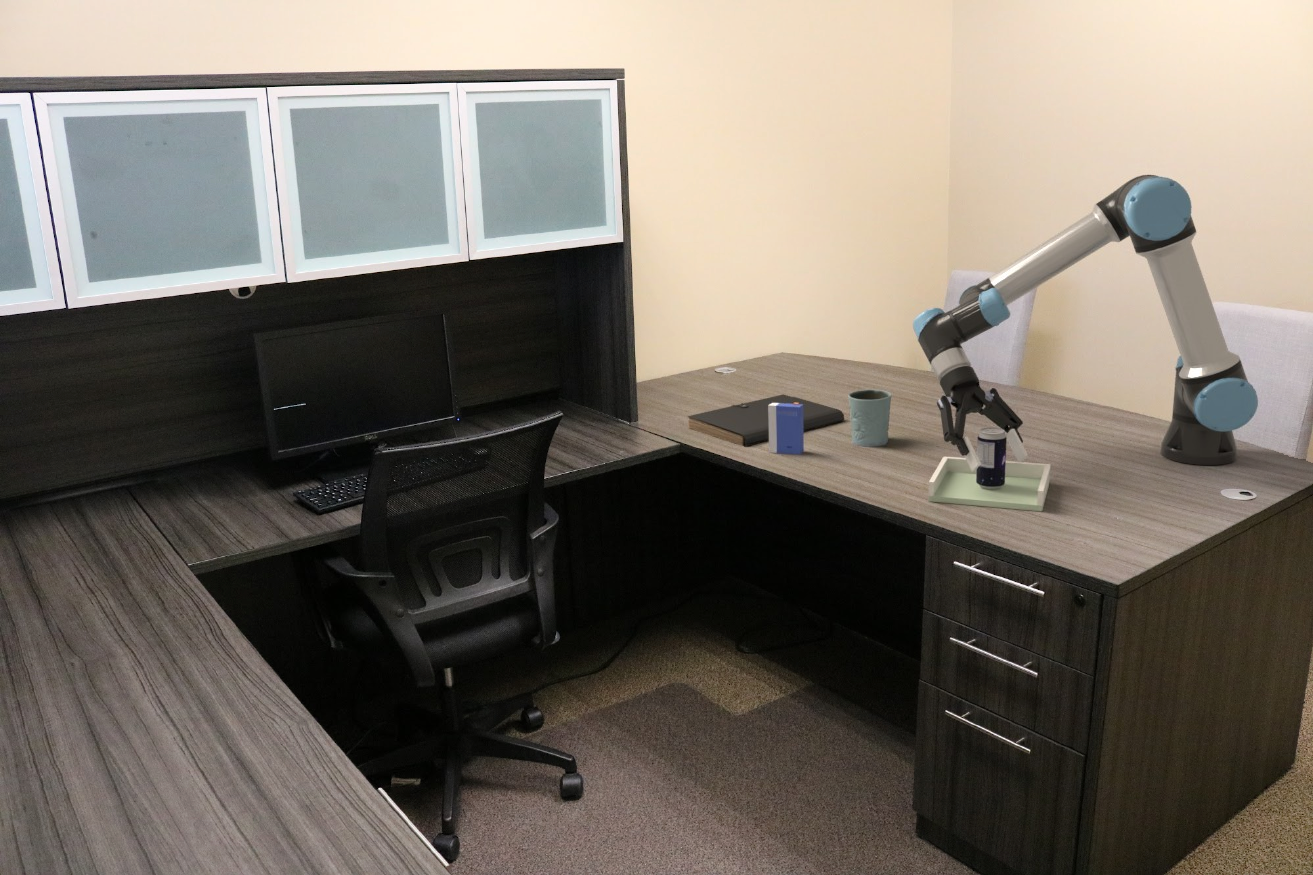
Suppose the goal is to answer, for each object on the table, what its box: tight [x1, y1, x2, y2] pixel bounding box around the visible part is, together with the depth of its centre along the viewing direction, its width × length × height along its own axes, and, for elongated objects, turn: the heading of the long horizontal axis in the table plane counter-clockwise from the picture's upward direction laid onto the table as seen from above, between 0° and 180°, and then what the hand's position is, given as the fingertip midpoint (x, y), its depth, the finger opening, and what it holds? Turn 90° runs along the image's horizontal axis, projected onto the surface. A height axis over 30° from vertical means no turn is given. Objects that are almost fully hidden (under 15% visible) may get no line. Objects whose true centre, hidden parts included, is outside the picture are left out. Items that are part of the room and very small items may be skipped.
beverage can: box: [976, 427, 1008, 490], centre depth 224 cm, size 6×6×12 cm
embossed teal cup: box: [847, 388, 892, 448], centre depth 263 cm, size 10×10×12 cm
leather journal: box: [687, 393, 845, 447], centre depth 284 cm, size 33×4×24 cm
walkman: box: [768, 403, 805, 455], centre depth 258 cm, size 8×3×12 cm, turn 66°
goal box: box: [927, 456, 1052, 512], centre depth 225 cm, size 22×18×4 cm
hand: (1000, 463), depth 221 cm, fingers open, 11 cm apart
